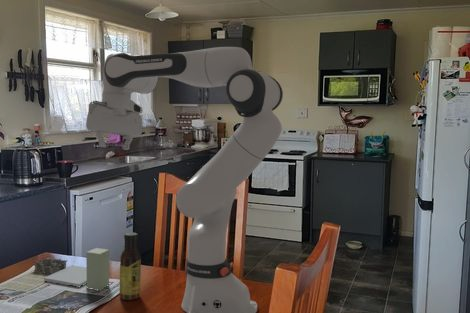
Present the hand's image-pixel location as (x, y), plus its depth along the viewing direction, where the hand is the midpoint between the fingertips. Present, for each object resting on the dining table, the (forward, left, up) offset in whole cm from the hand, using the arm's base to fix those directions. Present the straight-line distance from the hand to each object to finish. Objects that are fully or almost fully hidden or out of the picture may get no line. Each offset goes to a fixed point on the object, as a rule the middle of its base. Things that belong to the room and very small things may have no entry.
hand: (114, 148), depth 145 cm
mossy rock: (+30, -6, -46) cm, 55 cm away
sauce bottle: (-9, +4, -46) cm, 47 cm away
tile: (+17, -3, -45) cm, 49 cm away
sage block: (+5, +1, -45) cm, 46 cm away
